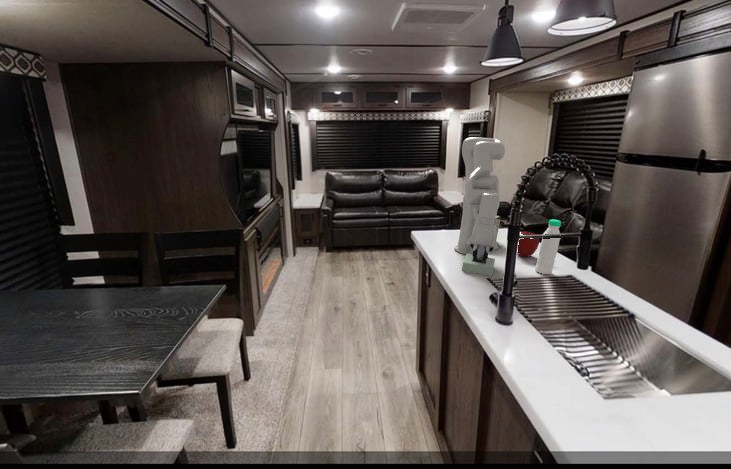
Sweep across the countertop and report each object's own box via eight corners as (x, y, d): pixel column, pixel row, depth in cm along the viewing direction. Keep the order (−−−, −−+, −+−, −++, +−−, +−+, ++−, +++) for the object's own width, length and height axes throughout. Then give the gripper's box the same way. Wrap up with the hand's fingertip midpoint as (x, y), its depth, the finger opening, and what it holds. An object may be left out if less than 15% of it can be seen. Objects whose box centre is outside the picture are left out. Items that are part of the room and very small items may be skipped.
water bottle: (542, 268, 161) (554, 217, 154) (555, 274, 155) (568, 222, 148) (531, 269, 159) (543, 218, 151) (543, 276, 152) (556, 222, 145)
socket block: (465, 261, 164) (466, 253, 163) (493, 266, 160) (495, 258, 159) (461, 270, 153) (462, 262, 152) (491, 276, 148) (493, 268, 147)
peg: (474, 263, 158) (478, 240, 155) (483, 264, 157) (487, 242, 154) (473, 265, 155) (477, 243, 152) (482, 267, 153) (486, 244, 150)
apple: (508, 250, 184) (513, 227, 180) (530, 252, 183) (536, 229, 179) (515, 258, 172) (521, 233, 168) (539, 260, 171) (545, 235, 167)
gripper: (506, 221, 150) (499, 260, 155) (468, 216, 156) (462, 253, 161) (506, 225, 143) (498, 265, 149) (465, 219, 149) (459, 258, 155)
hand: (479, 258), depth 155 cm, fingers closed on peg, 3 cm apart
